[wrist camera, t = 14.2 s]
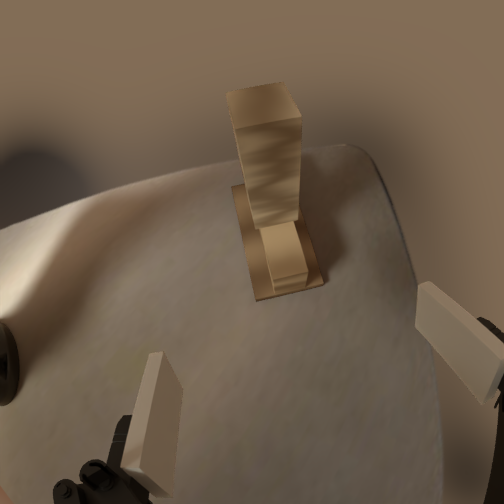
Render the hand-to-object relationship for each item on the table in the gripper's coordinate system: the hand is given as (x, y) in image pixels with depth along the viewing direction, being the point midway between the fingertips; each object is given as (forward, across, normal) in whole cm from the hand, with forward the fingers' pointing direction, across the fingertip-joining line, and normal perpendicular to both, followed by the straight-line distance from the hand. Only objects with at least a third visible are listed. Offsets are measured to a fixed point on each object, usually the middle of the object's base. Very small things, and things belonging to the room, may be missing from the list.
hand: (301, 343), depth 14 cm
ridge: (+25, +2, -2) cm, 25 cm away
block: (+20, +2, +2) cm, 20 cm away
